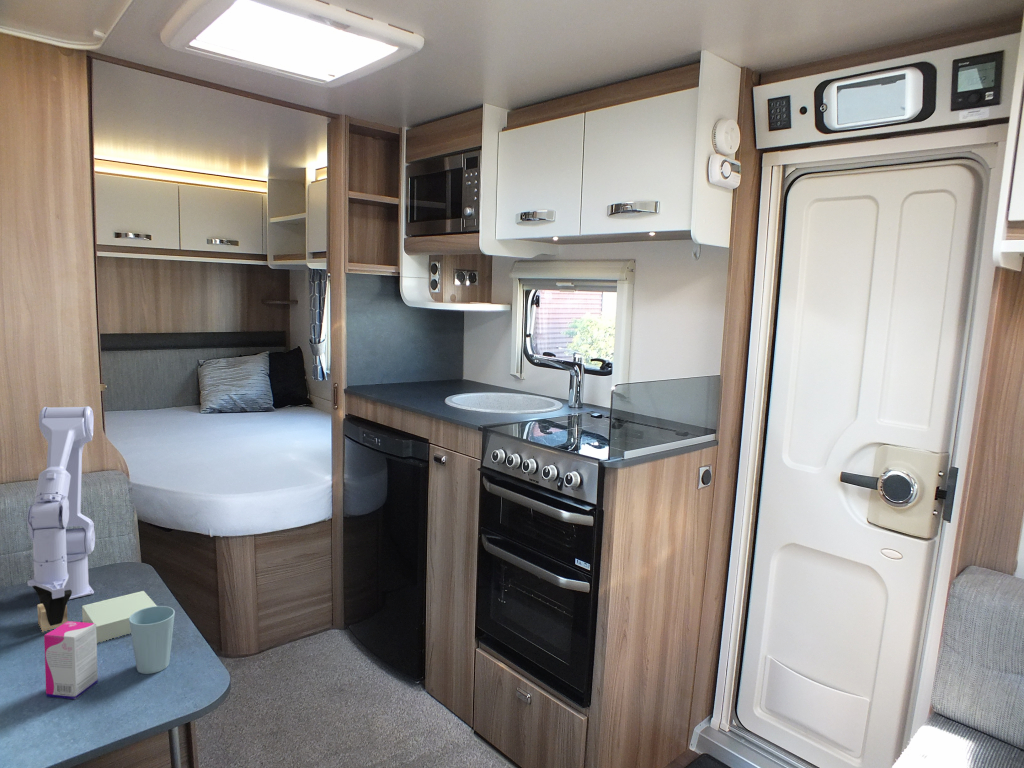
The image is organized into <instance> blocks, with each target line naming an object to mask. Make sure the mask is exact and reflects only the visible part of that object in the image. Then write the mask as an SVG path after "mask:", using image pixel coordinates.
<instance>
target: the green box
mask: <svg viewBox="0 0 1024 768" xmlns="http://www.w3.org/2000/svg"><path fill="white" fill-rule="evenodd" d="M154 606H158V605H157V604H156V603H155V602H154V600H153V599H152V598H150V596H149V595H148V594H147V593H146V592H145V590H141V591H137V592H133V593H129V594H125V595H120V596H117V597H112V598H108V599H104V600H99V601H96V602H93V603H88V604H84V605H82V606H81V610H82V611H81V612H82V622H84V623H96V638H97V644H99V643H98V642H100V643H104V642H107V641H110V640H109V639H111V640H113V639H112V638H114V639H116V638H115V637H118V638H120V637H119V636H122V635H125V636H127V635H126V634H129V633H131V630H130V623H129V617H130V616H131V615H132V614H133V613H135V612H137V611H139V610H141V609H144V608H148V607H154ZM129 635H130V634H129ZM122 637H123V636H122ZM106 640H107V641H106ZM103 641H104V642H103Z"/></svg>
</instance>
